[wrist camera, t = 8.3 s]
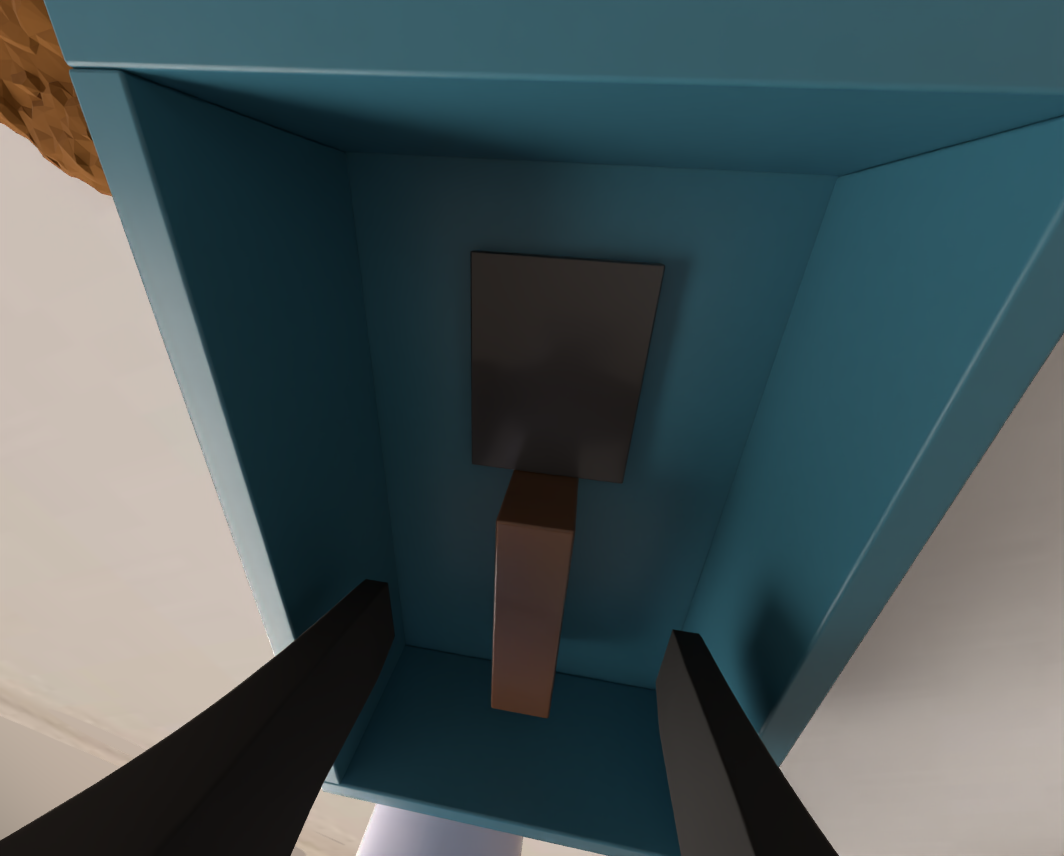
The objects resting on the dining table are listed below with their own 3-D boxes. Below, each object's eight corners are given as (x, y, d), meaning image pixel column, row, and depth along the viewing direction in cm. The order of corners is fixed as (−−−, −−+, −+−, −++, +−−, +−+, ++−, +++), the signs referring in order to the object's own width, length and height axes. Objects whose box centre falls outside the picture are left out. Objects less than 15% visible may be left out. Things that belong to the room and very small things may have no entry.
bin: (673, 693, 17) (707, 879, 12) (395, 642, 18) (321, 792, 13) (878, 137, 8) (1301, -21, 3) (322, 115, 10) (32, -22, 5)
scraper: (589, 643, 15) (588, 727, 13) (476, 624, 16) (452, 701, 13) (661, 263, 9) (689, 271, 7) (476, 249, 10) (432, 252, 7)
